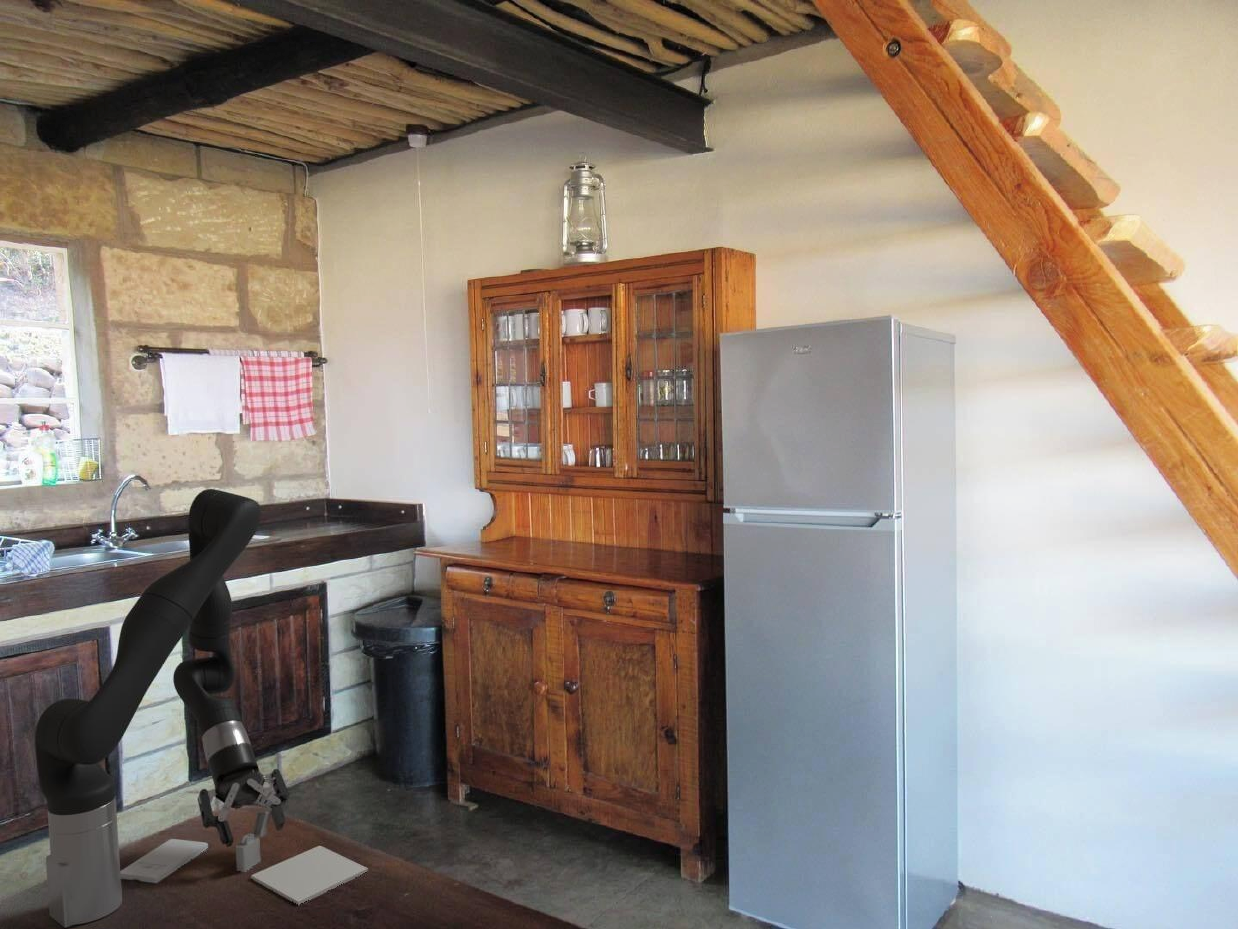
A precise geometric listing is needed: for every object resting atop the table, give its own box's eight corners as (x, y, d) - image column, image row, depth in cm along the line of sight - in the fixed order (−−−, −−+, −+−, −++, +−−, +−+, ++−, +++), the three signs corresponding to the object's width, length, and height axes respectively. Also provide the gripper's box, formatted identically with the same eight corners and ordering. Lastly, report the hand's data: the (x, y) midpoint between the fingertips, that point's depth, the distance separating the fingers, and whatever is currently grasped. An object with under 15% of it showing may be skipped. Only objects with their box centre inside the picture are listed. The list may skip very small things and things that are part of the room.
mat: (298, 905, 146) (298, 901, 146) (251, 879, 155) (251, 875, 155) (368, 872, 156) (367, 868, 156) (319, 848, 165) (319, 845, 165)
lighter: (244, 872, 157) (242, 826, 156) (236, 871, 157) (233, 825, 157) (272, 853, 164) (270, 809, 163) (264, 852, 164) (262, 807, 164)
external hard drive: (208, 851, 166) (156, 886, 154) (170, 847, 168) (116, 881, 156) (207, 842, 166) (156, 877, 154) (169, 838, 168) (115, 872, 156)
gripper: (191, 753, 160) (217, 840, 153) (273, 732, 170) (302, 813, 162) (183, 774, 165) (208, 860, 157) (264, 753, 174) (291, 833, 166)
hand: (256, 836), depth 159 cm, fingers open, 8 cm apart
